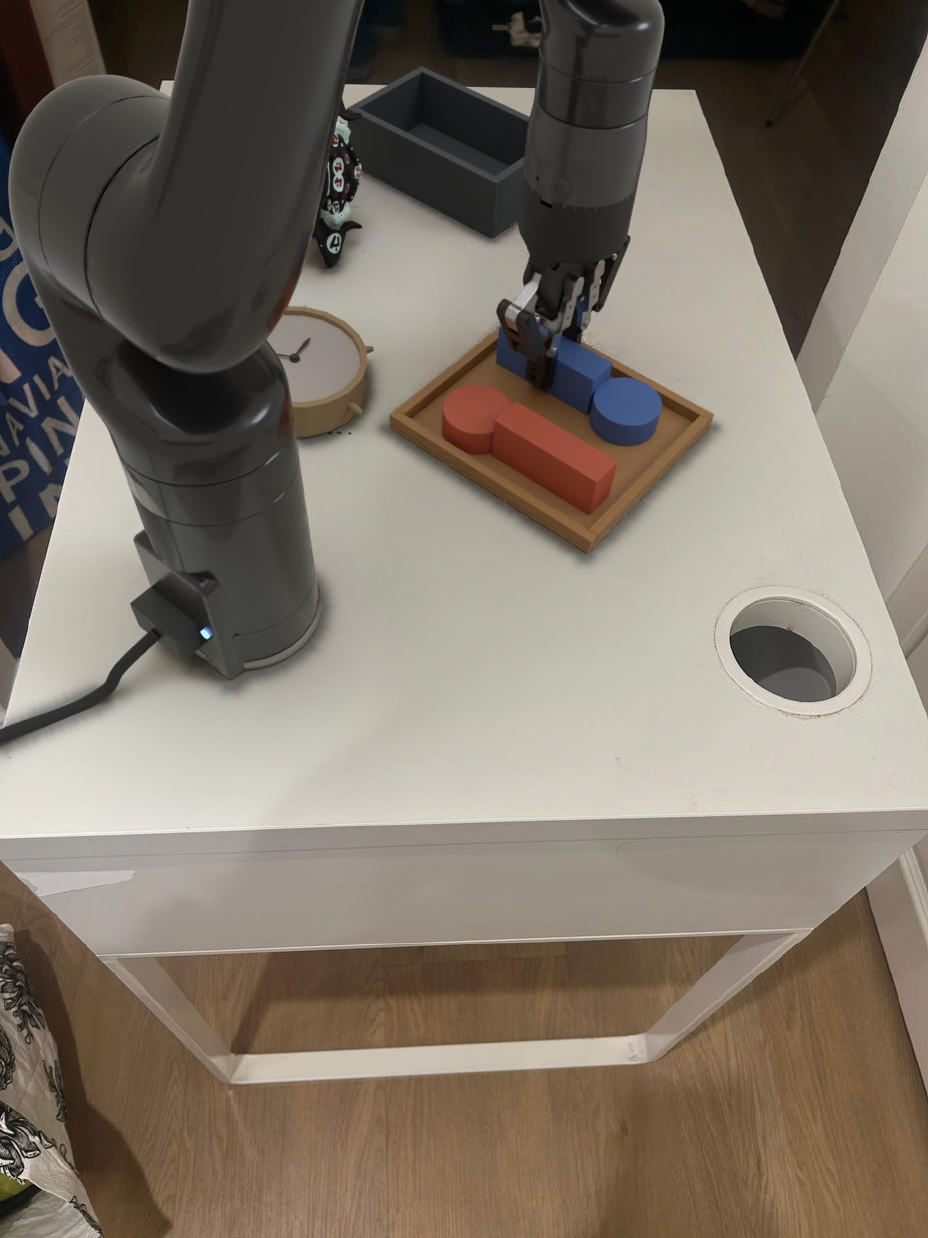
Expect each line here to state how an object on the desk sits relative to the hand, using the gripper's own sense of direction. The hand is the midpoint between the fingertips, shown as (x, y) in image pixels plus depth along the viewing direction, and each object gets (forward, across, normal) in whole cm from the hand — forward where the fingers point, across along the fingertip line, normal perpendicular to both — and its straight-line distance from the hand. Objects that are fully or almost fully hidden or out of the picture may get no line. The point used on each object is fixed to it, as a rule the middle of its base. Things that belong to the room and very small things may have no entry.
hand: (550, 373), depth 77 cm
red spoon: (+1, +8, +4) cm, 9 cm away
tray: (+1, +4, +3) cm, 5 cm away
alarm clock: (+1, +15, -16) cm, 22 cm away
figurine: (+1, 0, -29) cm, 29 cm away
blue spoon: (+1, 0, +2) cm, 2 cm away
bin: (+1, -17, -24) cm, 30 cm away
